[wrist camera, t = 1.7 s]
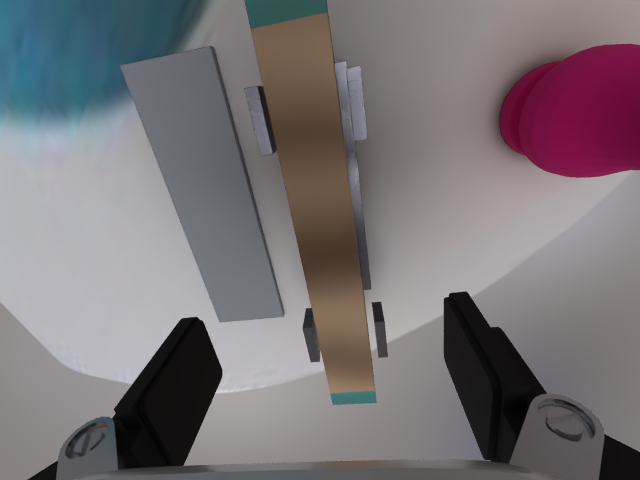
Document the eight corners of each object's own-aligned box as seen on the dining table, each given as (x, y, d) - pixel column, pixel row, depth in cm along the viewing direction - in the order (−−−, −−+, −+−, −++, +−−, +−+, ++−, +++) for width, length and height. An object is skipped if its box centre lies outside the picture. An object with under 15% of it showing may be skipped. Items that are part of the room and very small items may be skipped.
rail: (261, 10, 14) (242, -10, 11) (326, -5, 14) (321, -28, 11) (334, 369, 24) (332, 404, 21) (372, 367, 23) (376, 402, 21)
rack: (280, 75, 22) (238, 63, 13) (351, 61, 21) (358, 38, 13) (322, 289, 30) (313, 372, 21) (374, 284, 30) (388, 367, 21)
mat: (125, 66, 23) (119, 65, 22) (213, 47, 22) (210, 46, 21) (221, 318, 33) (219, 322, 32) (284, 312, 32) (283, 316, 31)
